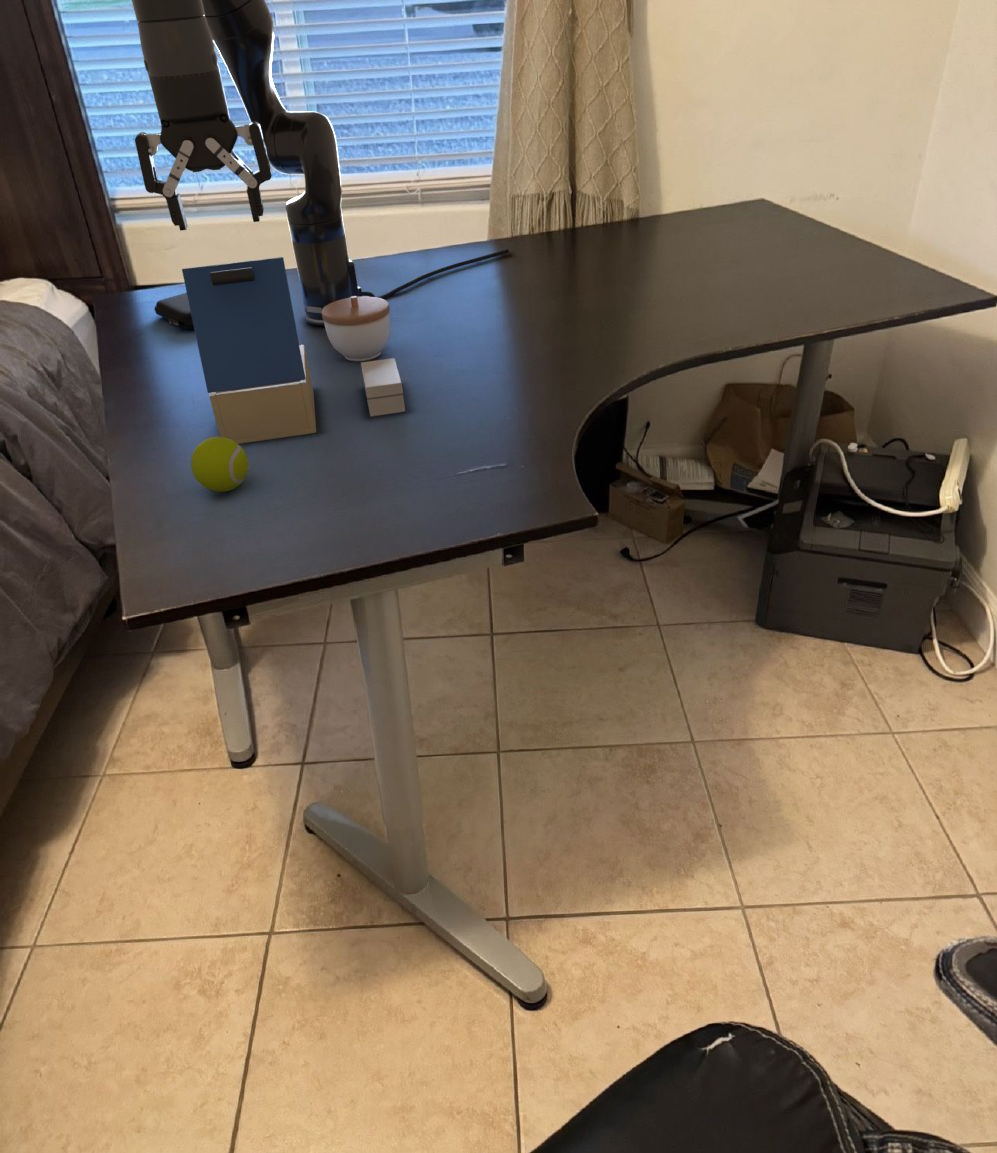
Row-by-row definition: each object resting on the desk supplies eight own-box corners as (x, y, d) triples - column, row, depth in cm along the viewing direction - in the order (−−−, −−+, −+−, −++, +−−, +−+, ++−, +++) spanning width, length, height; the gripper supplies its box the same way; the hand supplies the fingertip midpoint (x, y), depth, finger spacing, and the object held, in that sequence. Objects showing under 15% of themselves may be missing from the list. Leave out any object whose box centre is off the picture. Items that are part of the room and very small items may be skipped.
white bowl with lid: (342, 372, 136) (331, 313, 130) (321, 351, 144) (310, 295, 138) (405, 356, 139) (397, 298, 134) (381, 337, 147) (373, 281, 142)
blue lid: (182, 269, 109) (175, 264, 105) (283, 257, 111) (280, 252, 106) (208, 392, 113) (202, 393, 109) (305, 379, 115) (303, 379, 110)
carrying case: (147, 318, 163) (182, 335, 154) (142, 302, 162) (177, 319, 152) (199, 303, 169) (236, 319, 160) (195, 287, 167) (232, 302, 158)
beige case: (364, 390, 130) (360, 362, 127) (398, 385, 130) (394, 357, 128) (369, 417, 122) (365, 387, 119) (405, 411, 123) (401, 382, 120)
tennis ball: (217, 472, 111) (204, 425, 107) (263, 477, 109) (251, 429, 105) (188, 499, 106) (172, 450, 102) (236, 504, 104) (222, 455, 100)
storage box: (228, 402, 129) (216, 355, 125) (313, 391, 131) (304, 344, 126) (222, 446, 117) (209, 396, 113) (316, 432, 119) (306, 383, 115)
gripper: (251, 59, 98) (280, 211, 107) (120, 71, 96) (162, 224, 106) (248, 65, 92) (280, 225, 101) (109, 78, 90) (155, 239, 100)
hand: (220, 224), depth 103 cm, fingers open, 8 cm apart
